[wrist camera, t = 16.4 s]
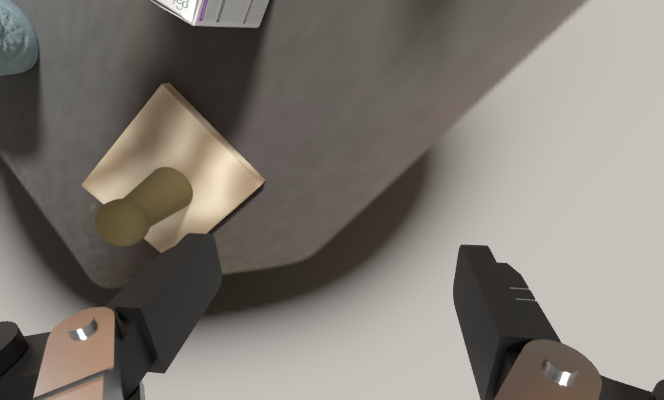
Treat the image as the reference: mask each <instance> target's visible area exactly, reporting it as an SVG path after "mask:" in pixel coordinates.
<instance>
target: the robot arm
mask: <svg viewBox="0 0 664 400" xmlns="http://www.w3.org/2000/svg"><path fill="white" fill-rule="evenodd" d="M221 280H222V271H221V266H220V261H219V256H218V252H217V247H216V242H215V239H214V237H213V235H212V234H202V233H188V234H186V235H185V236H184V237H183V238H182V239H181V240H180V241H179V242H178V243H177V244H176V245H175V246H174V247H171V248H169V249H167V250H166V251H164V252H162V253H160V254H159V255H157V256H156V257H155V258H154V259H153V260H152V261H151V262H150V263H149V264H148V265H147V267H146V268H144V269H143V270H142V271H141V272H140V273H138V276H137V277H134V278H133V279H132V280H131V281H130V282H129V283H128V284H127V285H126V286H125V287H124V288H123V289H122V290H121V291H120V292H119V293H118V294H117V295H116V296H115V297H114V298H113V299H112V300H111V301H110V302H109V303H108V304H107V305H106V306H105V307H94V308H90V309H85V310H83V311H80V312H78V313H76V314H74V315H71V316H69V317H68V318H66V319H65V320H63V321H62V322H61V323H59V324H58V325H57V326H56V327H55V328H54V329H53V330H52V331H51V332H47V333H42V334H36V335H30V336H23V334H22V333H21V331H20V329H19V328H18V326H17V325H16V324H15V323H13V322H8V321H6V322H0V400H145V394H144V385H143V383H142V379H143V377H144V376H145V374H146V373H147V372H155V373H165V372H166V370H167V369H168V367H169V366H170V364H171V363H172V361H173V360H174V358H175V356H176V355H177V353H178V352H179V350H180V349H181V347H182V346H183V344H184V342H185V341H186V339H187V338H188V336H189V335H190V333H191V332H192V330H193V328H194V327H195V325H196V324H197V322H198V321H199V319H200V318H201V316H202V314H203V313H204V311H205V310H206V308H207V307H208V305H209V304H210V302H211V301H212V299H213V298H214V296H215V294H216V293H217V291H218V290H219V287H220V285H221ZM453 298H454V305H455V309H456V312H457V316H458V319H459V323H460V327H461V331H462V333H463V338H464V341H465V345H466V348H467V352H468V356H469V359H470V363H471V366H472V370H473V374H474V377H475V381H476V384H477V388H478V392H479V395H480V399H481V400H664V380H661V381H659V382H658V383H657V384H656V386H655V388H654V390H653V391H652V392H649V391H646V390H643V389H640V388H637V387H633V386H631V385H627V384H624V383H621V382H618V381H615V380H611V379H609V378H606V377H604V376H602V375H600V374H599V372H598V370H597V369H596V367H595V366H594V365H593V364H592V363H591V362H590V361H589V360H588V359H587V358H586V357H585V356H584V355H582V354H581V353H580V352H578V351H577V350H575V349H573V348H571V347H569V346H567V345H565V344H563V343H561V341H560V339H559V338H558V336H557V335H556V333H555V331H554V330H553V328H552V326H551V324H550V323H549V321H548V319H547V318H546V316H545V314H544V313H543V311H542V309H541V308H540V306H539V304H538V303H537V301H535V298H534V296H533V294H532V293H531V291H530V290H529V289H528V286H527V284H526V283H525V281H524V279H523V277H522V276H521V274H519V273H518V272H517V271H516V270H515V269H513V268H512V267H511V266H510V265H508V264H507V263H497V262H496V260H495V258H494V256H493V254H492V252H491V251H490V249H489V247H488V246H484V245H461V246H460V248H459V252H458V259H457V266H456V272H455V278H454V285H453Z"/></svg>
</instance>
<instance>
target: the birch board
mask: <svg viewBox="0 0 664 400" xmlns="http://www.w3.org/2000/svg"><path fill="white" fill-rule="evenodd" d="M161 167H170V168H173V169H176V170H178V171H179V172H181V173H182V174H183V175H184V176H185V177H187V179H188V180H189V182H190V184H191V186H192V189H193V198H192V200H191V203H190V204H189V205H187V206H186V207H185V208H183V209H181V210H180V211H178V212H176V213H174V214H173V215H171V216H169V217H167V218H166V219H164V220H162V221H160V222H159V223H157V224H155V225H153V226H152V227H150V229H149V231H148V233H147V235H146V236H145V237H144V239H145V240H146V241H147V242H149V243H150V244H151V245H152V246H153V247H154V248H156V249H157V250H158V251H159V252H160V253H162V252H164V251H166V250H167V249H169V248H171V247H174V246H175V245H176V244H177V243H178V242H179V241H180V240H181V239H182V238H183V237H184V236H185V235H186V234H188V233H202V234H206V233H207V232H208V231H210V230H211V229H212V228H213V227H214V226H215V225H216V224H218V223H219V222H220V221H221V220H222V219H223V218H224V217H226V216H227V215H228V214H229V213H230V212H231V211H232V210H234V209H235V208H236V207H237V206H238V205H239V204H240V203H242V202H243V201H244V200H245V199H246V198H247V197H248V196H250V195H251V194H252V193H253V192H254V191H255V190H256V189H257V188H259V187H260V186H261V185H262V184H263V183H264V181H265V179H264V178H263V177H262V176H261V175H260V174H259V173H258V172H257V171H256V170H255V169H254V168H253V167H252V166H251V165H250V164H249V163H248V162H247V161H246V160H245V159H244V158H243V157H242V156H241V155H240V154H239V153H238V152H237V151H236V150H235V149H234V148H233V147H232V146H231V145H230V144H229V143H228V142H227V141H226V140H225V139H224V138H223V137H222V136H221V135H220V134H219V133H218V132H217V131H216V129H215V128H214V127H213V126H212V125H211V124H210V123H209V122H208V121H207V120H206V119H205V118H204V117H203V116H202V115H201V114H200V113H199V112H198V111H197V110H196V109H195V108H194V107H193V106H192V105H191V104H190V103H189V102H188V101H187V100H186V99H185V98H184V97H183V96H182V95H181V94H180V93H179V92H178V91H177V90H176V89H175V88H174V87H173V86H172V85H171V84H170V83H164V84H161V86H160V87H159V88H158V89H157V91H156V92H155V93H154V94H153V96H152V97H151V98H150V99H149V101H148V102H147V103H146V105H145V106H144V107H143V108H142V110H141V111H140V112H139V113H138V115H137V116H136V117H135V118H134V120H133V121H132V122H131V123H130V125H129V126H128V127H127V128H126V130H125V131H124V132H123V133H122V135H121V136H120V137H119V138H118V140H117V141H116V142H115V144H114V145H113V146H112V147H111V149H110V150H109V151H108V152H107V154H106V155H105V156H104V157H103V159H102V160H101V161H100V162H99V164H98V165H97V166H96V167H95V169H94V170H93V171H92V172H91V174H90V175H89V176H88V177H87V179H86V180H85V181H84V183H83V184H82V186H83V187H84V188H85V189H86V190H88V191H89V192H90V193H91V194H92V195H93V196H95V197H96V198H97V199H98V200H99V201H101V202H102V203H103V204H106V203H107V202H110V201H112V200H115V199H123V198H124V197H125V196H126V195H127V194H129V193H130V192H131V191H132V190H133V189H134V188H135V187H136V186H138V185H139V184H140V183H141V182H142V181H143V180H144V179H145V178H147V177H148V176H149V175H150V174H151V173H152V172H153V171H154V170H156V169H158V168H161Z"/></svg>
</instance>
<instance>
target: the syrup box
mask: <svg viewBox="0 0 664 400" xmlns="http://www.w3.org/2000/svg"><path fill="white" fill-rule="evenodd" d="M151 1H152V2H154V3H155V4H157V5H158V6H160V7H161V8H163V9H165V10H166V11H168V12H170V13H172V14H174V15H176V16H177V17H179V18H181V19H182V20H184V21H186V22H187V23H189V24H191V25H192V26H214V27H245V28H258V27H259V26H260V23H261V21H262V18H263V15H264V13H265V10H266V8H267V5H268V3H269V0H151Z"/></svg>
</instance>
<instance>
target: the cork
mask: <svg viewBox="0 0 664 400" xmlns="http://www.w3.org/2000/svg"><path fill="white" fill-rule="evenodd" d="M192 198H193V189H192V186H191V184H190V182H189V180H188V179H187V177H185V176H184V175H183V174H182V173H181V172H179V171H178V170H176V169H173V168H170V167H161V168H158V169H156V170H154V171H153V172H152V173H151V174H150V175H149V176H148V177H147V178H145V179H144V180H143V181H142V182H141V183H140V184H139V185H138V186H136V187H135V188H134V189H133V190H132V191H131V192H130V193H129V194H127V195H126V196H125V197H124V198H123V199H115V200H112V201H110V202H107V203H106V204H104V205H103V206H102V207H101V208H100V209H99V210H98V211H97V213H96V216H95V220H94V222H95V227H96V230H97V232H98V233H99V235H100V236H101V237H102V238H103V239H104V240H105V241H107V242H108V243H110V244H112V245H115V246H119V247H126V246H131V245H134V244H136V243H139V242H140V241H141V240H142V239H143V238H144V237H145V236H146V235H147V233H148V231H149V229H150V227H152V226H153V225H155V224H157V223H159V222H160V221H162V220H164V219H166V218H167V217H169V216H171V215H173V214H174V213H176V212H178V211H180V210H181V209H183V208H185V207H186V206H187V205H189V204H190V203H191V200H192Z"/></svg>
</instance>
